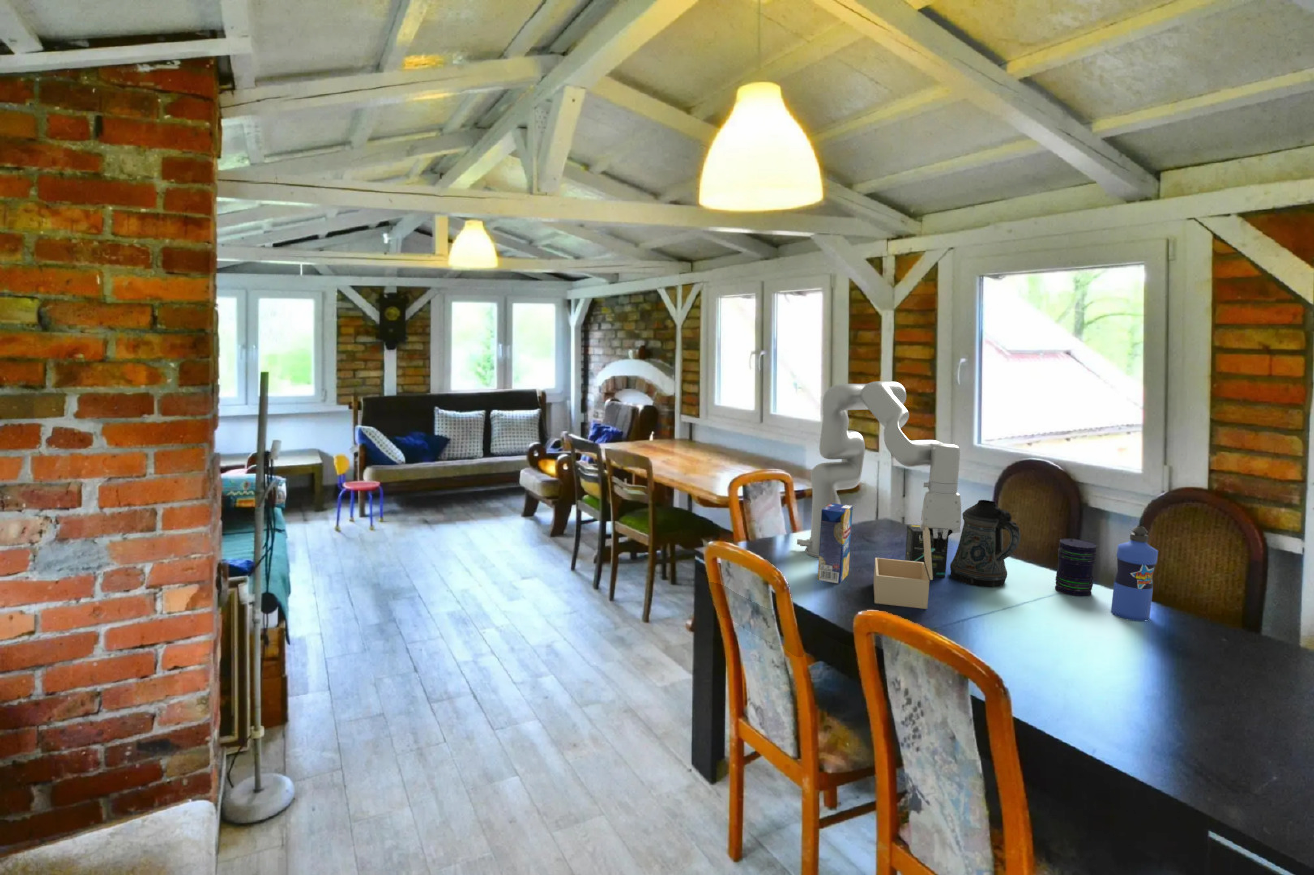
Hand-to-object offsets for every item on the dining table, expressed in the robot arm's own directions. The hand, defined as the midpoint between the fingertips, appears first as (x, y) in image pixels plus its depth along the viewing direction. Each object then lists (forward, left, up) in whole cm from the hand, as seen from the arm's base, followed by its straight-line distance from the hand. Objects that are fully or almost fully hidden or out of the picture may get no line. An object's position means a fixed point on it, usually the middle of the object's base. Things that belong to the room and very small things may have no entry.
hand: (938, 551), depth 213 cm
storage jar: (+41, +22, -15) cm, 49 cm away
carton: (-10, 0, -14) cm, 17 cm away
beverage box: (-29, +11, -15) cm, 34 cm away
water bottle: (+51, +5, -15) cm, 54 cm away
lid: (-3, 0, +1) cm, 3 cm away
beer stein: (+16, +24, -15) cm, 32 cm away
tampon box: (-1, +26, -15) cm, 30 cm away
